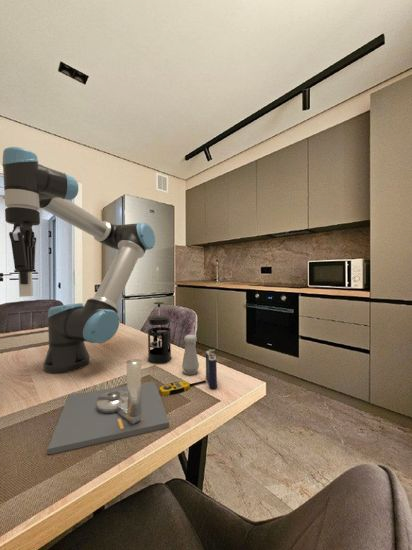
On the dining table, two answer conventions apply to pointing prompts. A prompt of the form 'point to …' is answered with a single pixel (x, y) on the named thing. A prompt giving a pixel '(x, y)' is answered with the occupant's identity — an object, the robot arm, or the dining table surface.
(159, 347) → the french press
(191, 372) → the salt shaker
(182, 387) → the yellow walkie-talkie
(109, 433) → the plate
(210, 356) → the flask
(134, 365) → the silver faucet
